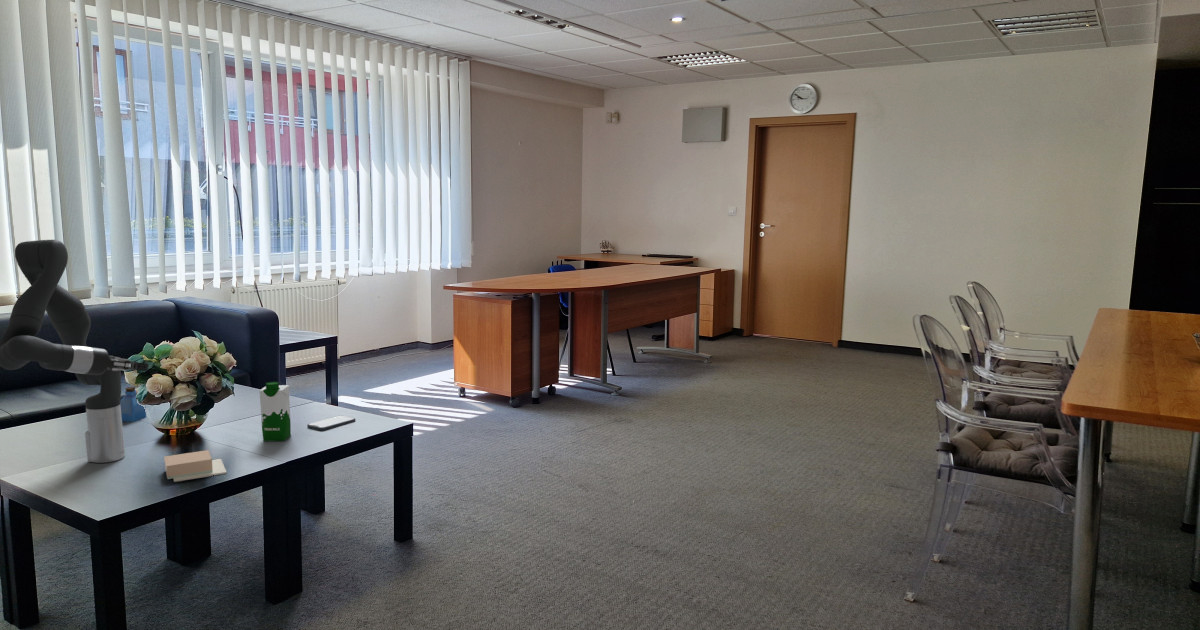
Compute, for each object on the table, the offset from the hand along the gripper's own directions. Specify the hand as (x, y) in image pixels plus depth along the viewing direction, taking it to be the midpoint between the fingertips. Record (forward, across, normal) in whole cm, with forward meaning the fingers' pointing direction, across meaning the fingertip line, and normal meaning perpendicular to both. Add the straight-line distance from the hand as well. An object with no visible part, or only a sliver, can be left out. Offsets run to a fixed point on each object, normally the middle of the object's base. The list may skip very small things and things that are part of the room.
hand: (146, 367), depth 230 cm
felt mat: (+17, -7, +29) cm, 35 cm away
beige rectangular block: (+9, -4, +29) cm, 31 cm away
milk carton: (+50, 0, +19) cm, 53 cm away
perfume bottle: (+37, +66, +20) cm, 78 cm away
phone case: (+70, -2, +14) cm, 72 cm away
